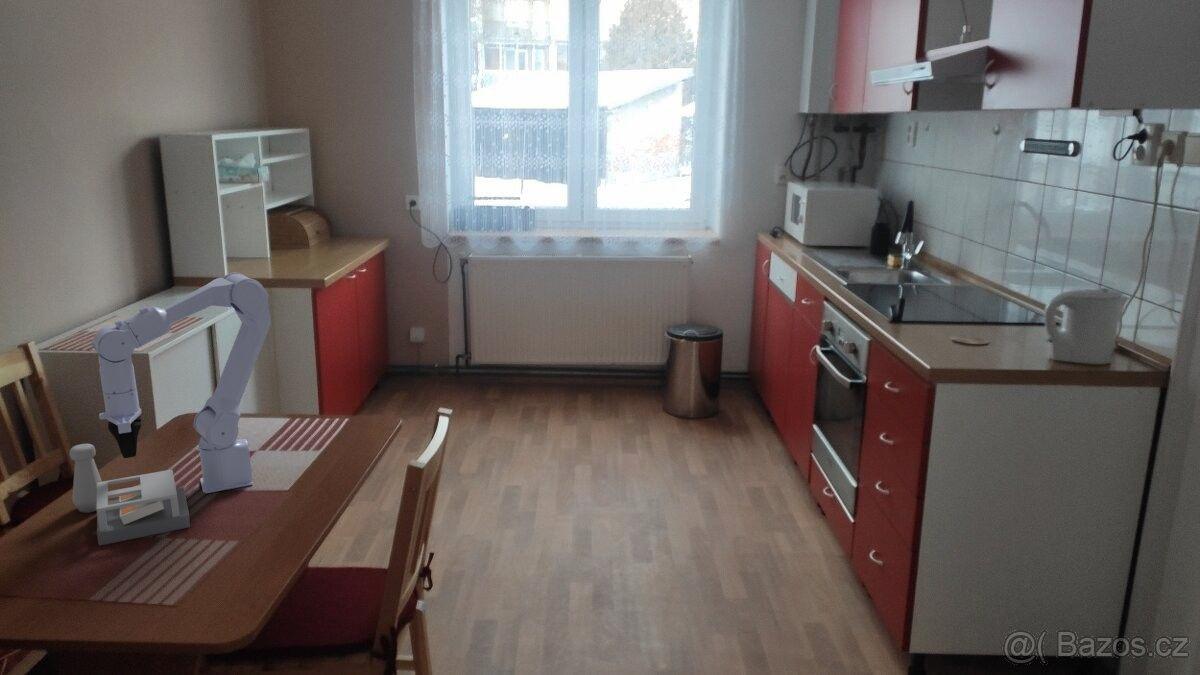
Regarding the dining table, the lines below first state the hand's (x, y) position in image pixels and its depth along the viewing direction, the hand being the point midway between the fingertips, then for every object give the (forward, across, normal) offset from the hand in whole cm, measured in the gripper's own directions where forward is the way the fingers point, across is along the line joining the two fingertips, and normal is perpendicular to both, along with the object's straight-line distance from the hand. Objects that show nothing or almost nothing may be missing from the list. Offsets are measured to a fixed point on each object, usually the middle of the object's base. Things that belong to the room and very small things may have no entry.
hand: (129, 456), depth 171 cm
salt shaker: (+11, -3, -8) cm, 14 cm away
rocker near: (+6, +11, +1) cm, 13 cm away
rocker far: (+6, +5, +1) cm, 8 cm away
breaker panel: (+10, +8, +1) cm, 13 cm away
